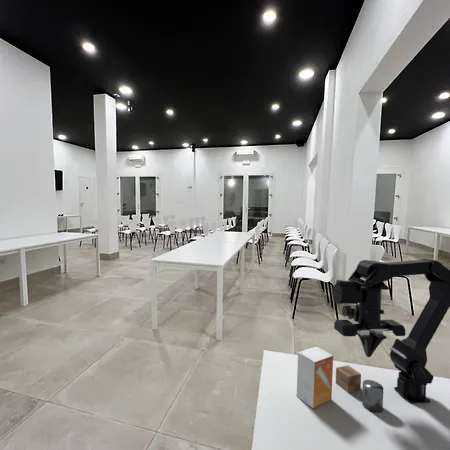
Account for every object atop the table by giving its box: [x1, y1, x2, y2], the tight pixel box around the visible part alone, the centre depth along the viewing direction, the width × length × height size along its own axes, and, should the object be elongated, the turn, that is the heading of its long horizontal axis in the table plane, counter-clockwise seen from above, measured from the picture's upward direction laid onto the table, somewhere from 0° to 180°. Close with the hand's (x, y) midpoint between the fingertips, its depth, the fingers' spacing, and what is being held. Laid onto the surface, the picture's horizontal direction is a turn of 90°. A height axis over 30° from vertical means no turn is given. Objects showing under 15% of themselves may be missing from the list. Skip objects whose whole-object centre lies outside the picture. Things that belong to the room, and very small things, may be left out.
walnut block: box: [335, 364, 362, 394], centre depth 81 cm, size 5×5×5 cm
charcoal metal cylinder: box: [361, 379, 384, 414], centre depth 72 cm, size 5×5×6 cm
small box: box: [296, 346, 334, 409], centre depth 75 cm, size 8×6×13 cm
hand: (368, 356), depth 76 cm, fingers closed
